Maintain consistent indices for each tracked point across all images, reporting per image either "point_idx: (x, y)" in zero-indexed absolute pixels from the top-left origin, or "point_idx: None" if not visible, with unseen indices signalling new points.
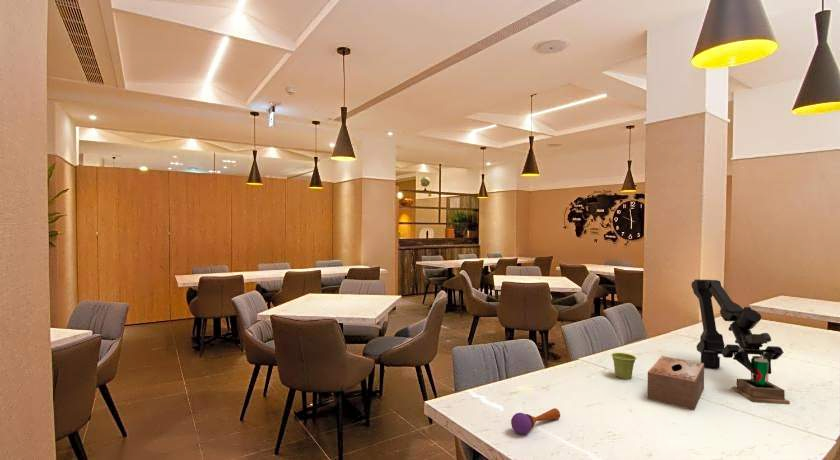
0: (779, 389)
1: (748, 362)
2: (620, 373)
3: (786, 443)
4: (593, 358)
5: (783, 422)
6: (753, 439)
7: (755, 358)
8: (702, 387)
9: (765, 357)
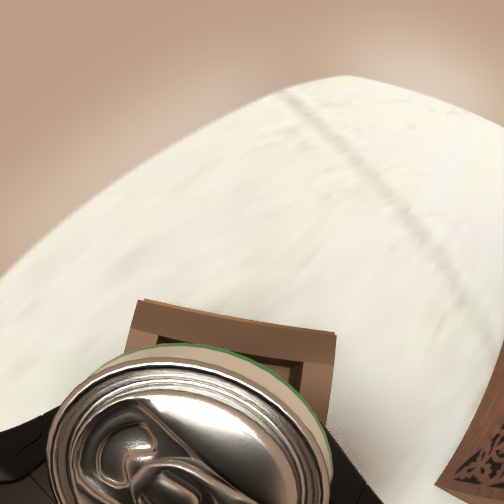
0: (159, 314)
1: (360, 489)
2: None
3: (395, 101)
4: None
5: (339, 158)
6: (445, 124)
7: (324, 463)
8: (478, 434)
9: (16, 499)
